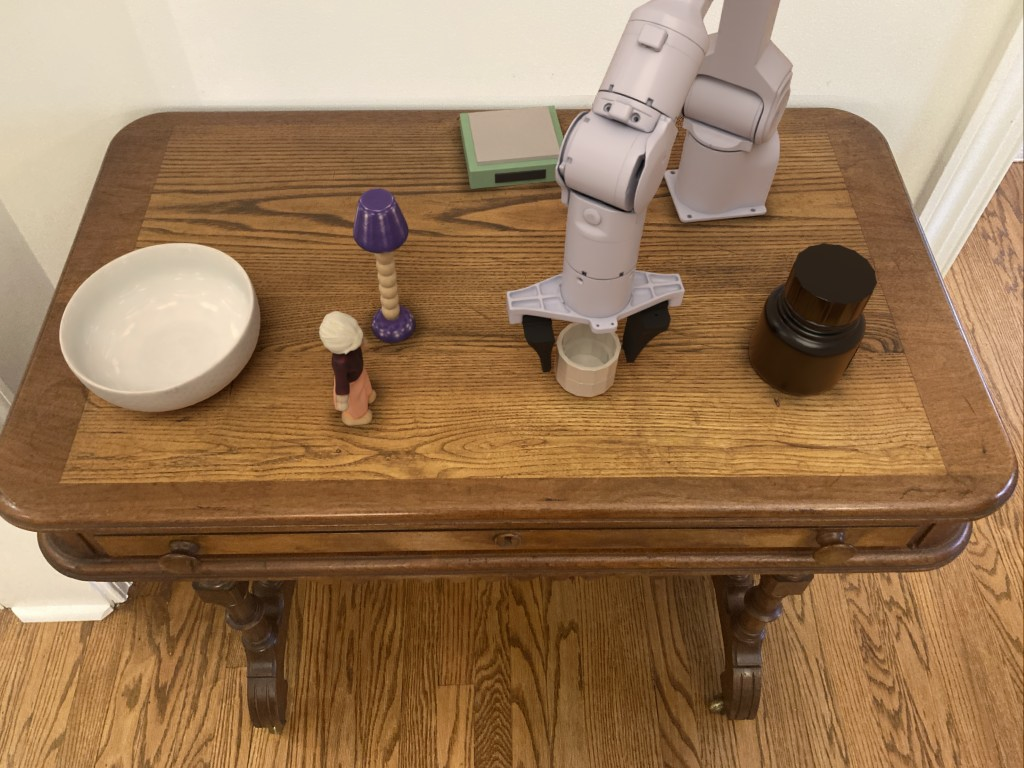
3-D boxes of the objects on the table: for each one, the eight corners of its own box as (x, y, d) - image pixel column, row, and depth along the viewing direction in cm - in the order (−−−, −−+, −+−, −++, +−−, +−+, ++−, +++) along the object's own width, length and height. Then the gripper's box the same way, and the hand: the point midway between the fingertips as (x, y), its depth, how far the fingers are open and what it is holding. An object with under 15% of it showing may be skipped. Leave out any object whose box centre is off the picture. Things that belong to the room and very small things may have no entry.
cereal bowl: (110, 294, 85) (82, 244, 79) (280, 288, 85) (264, 237, 79) (69, 441, 75) (33, 395, 69) (261, 433, 75) (242, 386, 70)
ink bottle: (865, 375, 80) (917, 289, 70) (795, 416, 77) (838, 333, 67) (793, 307, 84) (832, 217, 75) (725, 344, 82) (755, 256, 72)
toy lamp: (427, 317, 83) (413, 186, 70) (408, 353, 81) (390, 224, 67) (382, 304, 84) (359, 172, 70) (362, 339, 82) (334, 209, 68)
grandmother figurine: (337, 377, 79) (312, 285, 69) (379, 374, 79) (361, 282, 69) (334, 448, 75) (307, 361, 64) (379, 445, 75) (359, 358, 64)
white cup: (607, 347, 81) (612, 316, 78) (620, 396, 78) (626, 366, 74) (549, 354, 81) (552, 323, 77) (560, 403, 78) (563, 374, 74)
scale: (553, 123, 101) (554, 100, 98) (569, 181, 95) (571, 159, 92) (460, 131, 100) (459, 108, 97) (470, 190, 94) (469, 168, 91)
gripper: (516, 301, 63) (513, 404, 74) (705, 281, 65) (675, 385, 76) (502, 234, 67) (502, 341, 78) (681, 216, 69) (656, 324, 80)
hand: (586, 359), depth 77 cm, fingers open, 7 cm apart
